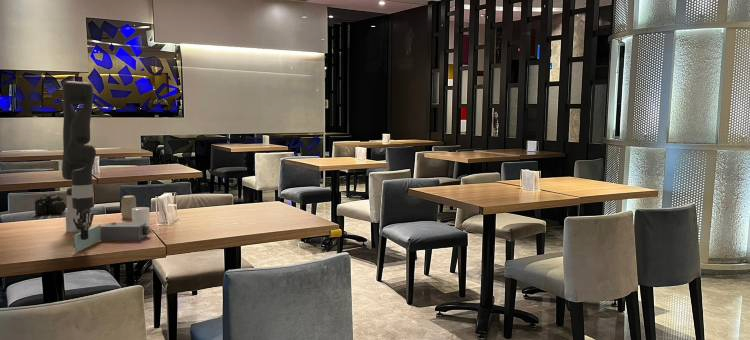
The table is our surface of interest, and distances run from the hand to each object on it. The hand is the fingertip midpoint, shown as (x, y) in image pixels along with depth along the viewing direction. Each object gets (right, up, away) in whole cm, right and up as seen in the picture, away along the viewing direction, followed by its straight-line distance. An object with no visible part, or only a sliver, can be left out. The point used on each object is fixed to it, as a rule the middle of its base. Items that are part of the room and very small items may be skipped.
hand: (84, 239), depth 222 cm
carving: (-12, +2, +69) cm, 70 cm away
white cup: (+5, -1, +43) cm, 43 cm away
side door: (-2, -3, +7) cm, 8 cm away
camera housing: (+5, -2, +23) cm, 24 cm away
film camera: (-61, +4, +86) cm, 105 cm away
